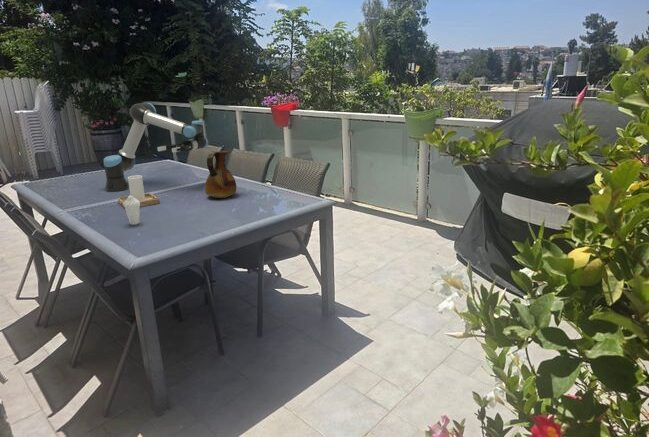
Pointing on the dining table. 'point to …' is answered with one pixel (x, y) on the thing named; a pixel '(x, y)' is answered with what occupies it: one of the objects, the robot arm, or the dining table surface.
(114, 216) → the dining table surface
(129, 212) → the soft serve ice cream cone
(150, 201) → the tray
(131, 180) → the cup
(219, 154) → the ceramic pitcher
